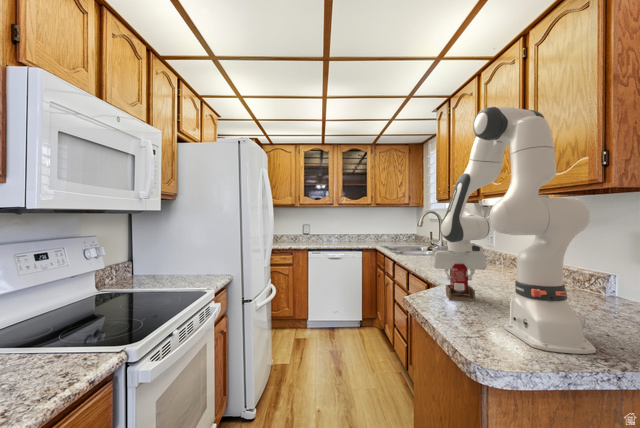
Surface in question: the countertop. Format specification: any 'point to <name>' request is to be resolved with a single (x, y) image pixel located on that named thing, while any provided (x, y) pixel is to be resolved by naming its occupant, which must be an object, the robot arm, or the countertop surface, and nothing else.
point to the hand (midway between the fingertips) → (459, 279)
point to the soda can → (459, 278)
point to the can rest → (460, 294)
